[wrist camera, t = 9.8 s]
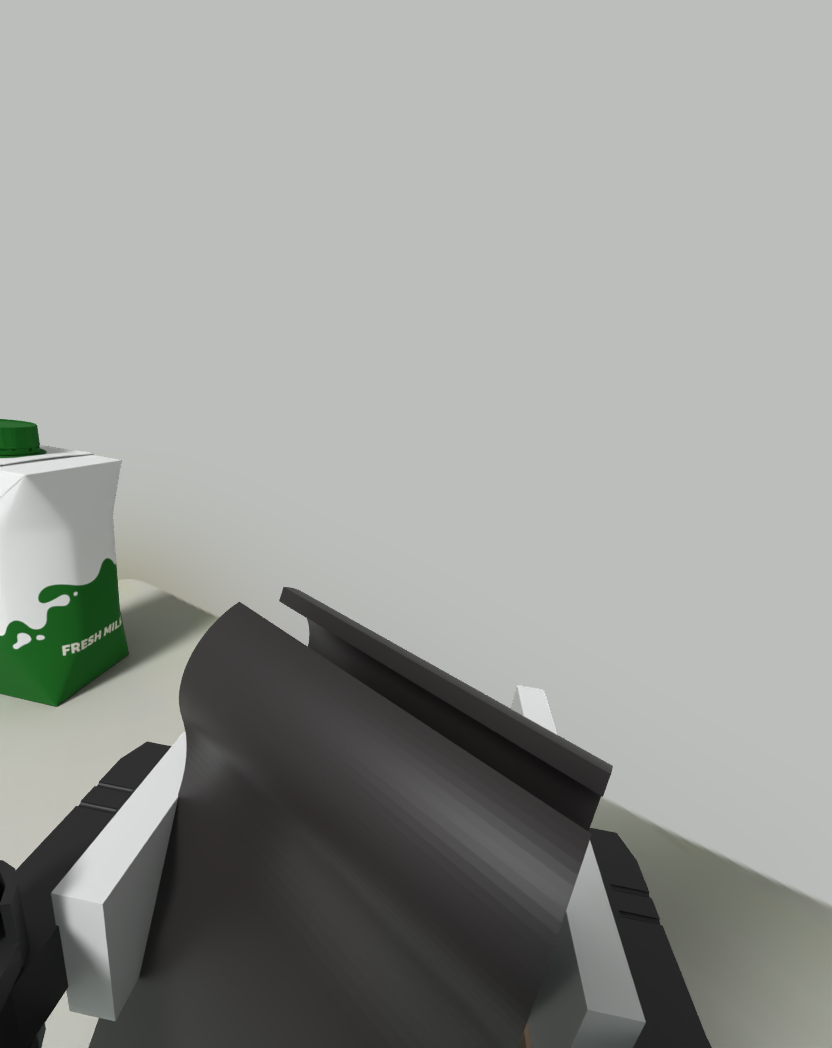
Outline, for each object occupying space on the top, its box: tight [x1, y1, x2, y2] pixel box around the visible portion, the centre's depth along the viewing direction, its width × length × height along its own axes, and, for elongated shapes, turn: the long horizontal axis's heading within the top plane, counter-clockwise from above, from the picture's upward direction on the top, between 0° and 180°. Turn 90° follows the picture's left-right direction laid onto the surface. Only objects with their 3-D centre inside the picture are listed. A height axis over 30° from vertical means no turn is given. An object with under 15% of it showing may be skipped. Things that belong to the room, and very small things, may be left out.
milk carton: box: [0, 419, 129, 707], centre depth 32 cm, size 9×9×20 cm
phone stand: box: [89, 587, 613, 1048], centre depth 8 cm, size 9×6×12 cm, turn 144°
